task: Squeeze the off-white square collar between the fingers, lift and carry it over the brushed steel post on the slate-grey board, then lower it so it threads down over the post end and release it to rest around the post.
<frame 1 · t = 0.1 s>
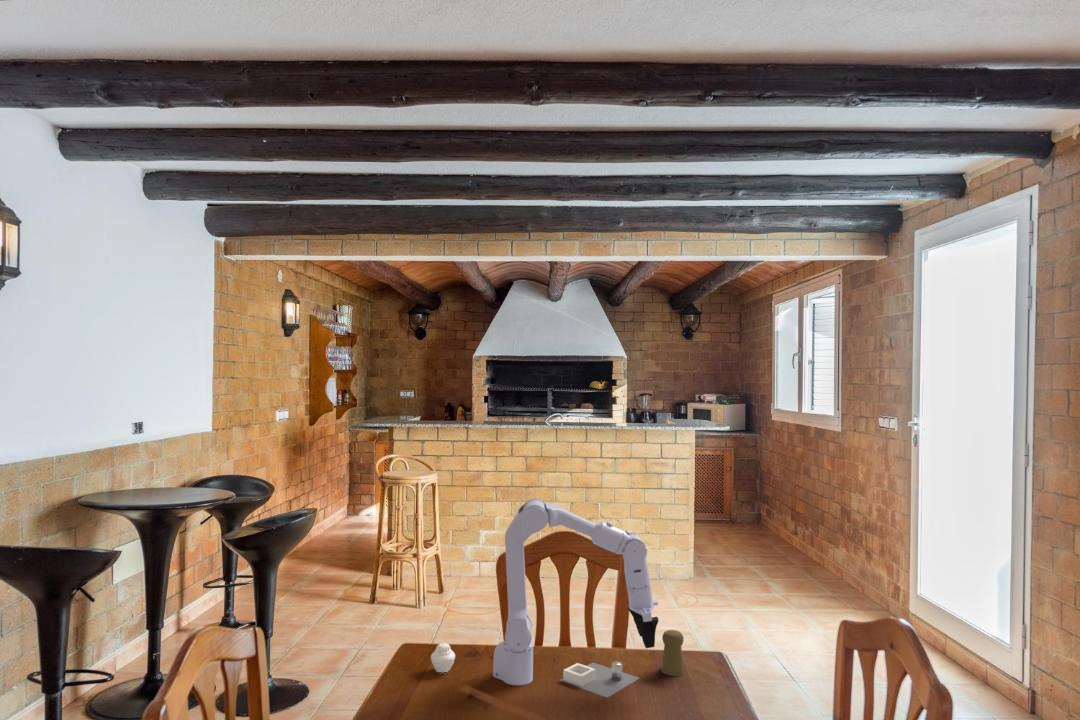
hand: (646, 641, 171), 11 cm above the table, tool pointing down, fingers open, 7 cm apart
post: (616, 683, 171), resting on board
muffin: (442, 671, 177), on the table
cork: (672, 676, 176), on the table
collar: (579, 679, 171), point 1 cm above the table, touching board
board: (599, 684, 171), on the table
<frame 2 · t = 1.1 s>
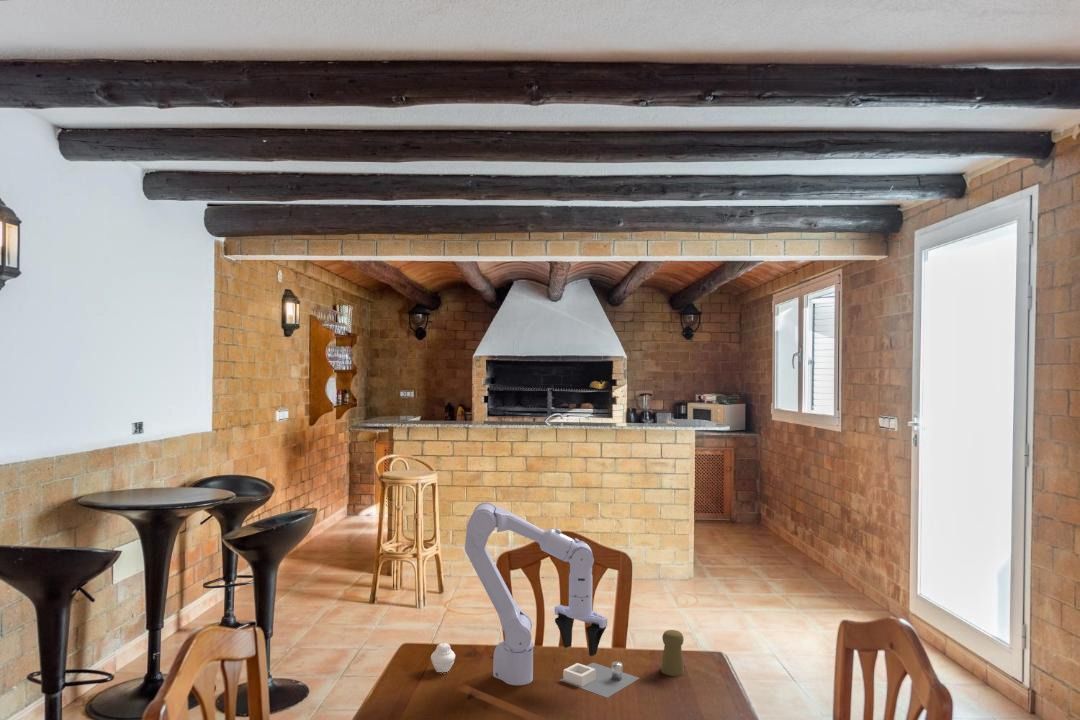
hand: (580, 650, 171), 8 cm above the table, tool pointing down, fingers open, 7 cm apart
nothing on the table moved.
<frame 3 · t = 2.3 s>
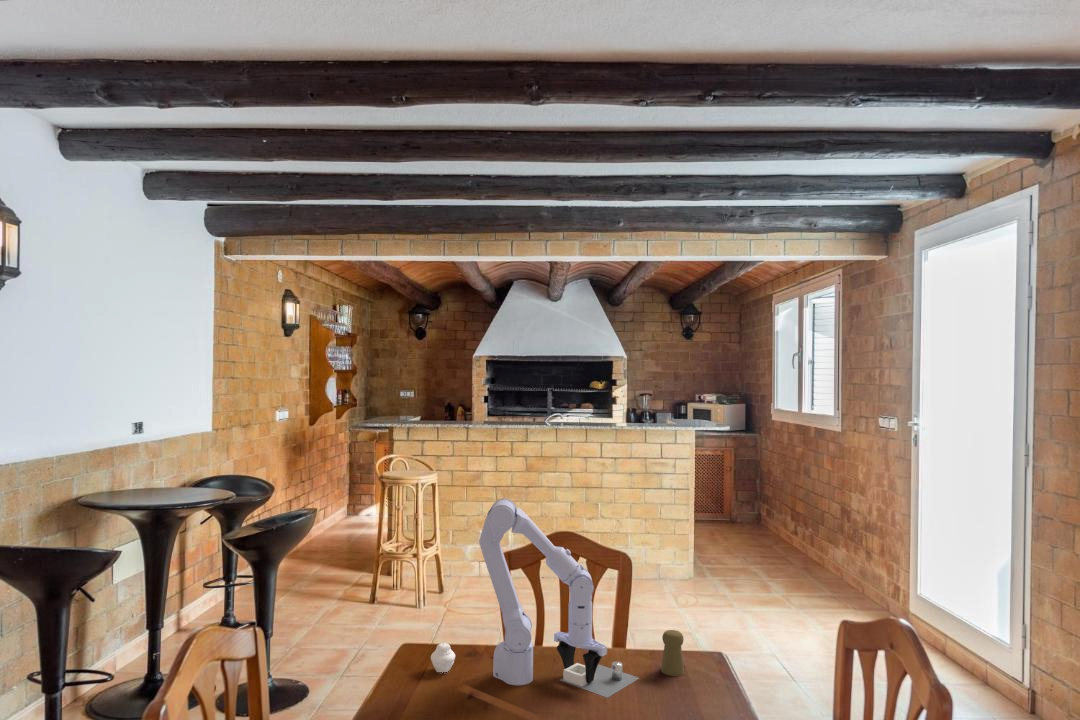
hand: (579, 677, 171), 2 cm above the table, tool pointing down, fingers closed on collar, 6 cm apart
collar: (579, 679, 171), point 1 cm above the table, touching board, gripper
everything else where it was.
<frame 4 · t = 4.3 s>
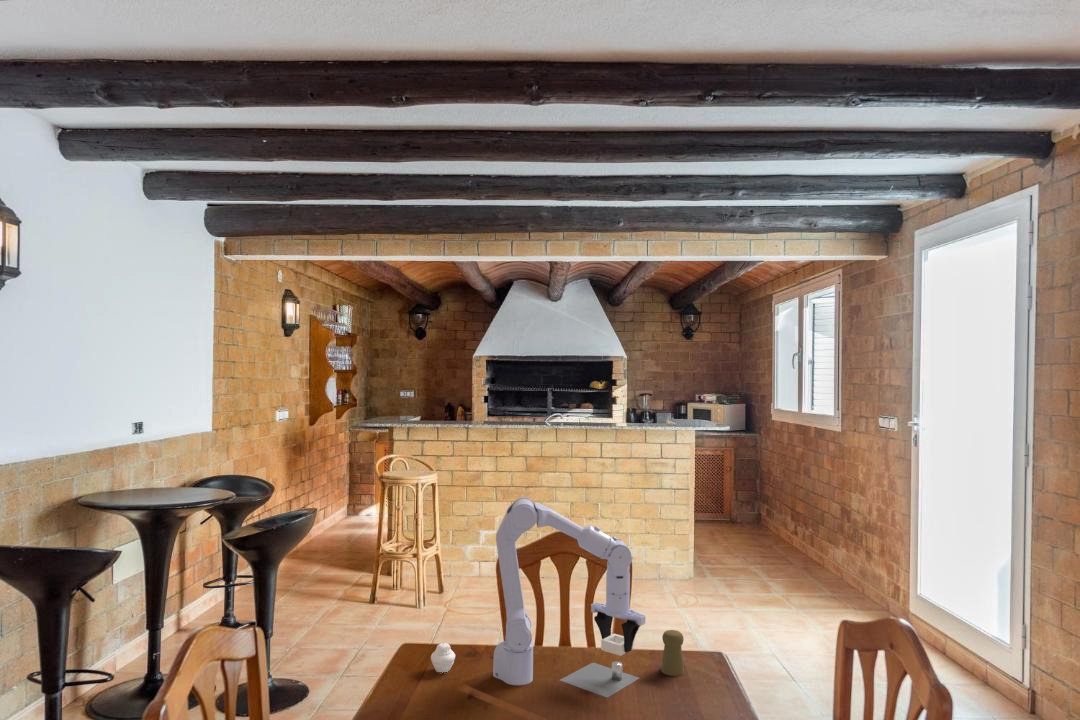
hand: (617, 647, 172), 9 cm above the table, tool pointing down, fingers closed on collar, 6 cm apart
collar: (617, 649, 172), point 8 cm above the table, touching gripper
everything else where it was.
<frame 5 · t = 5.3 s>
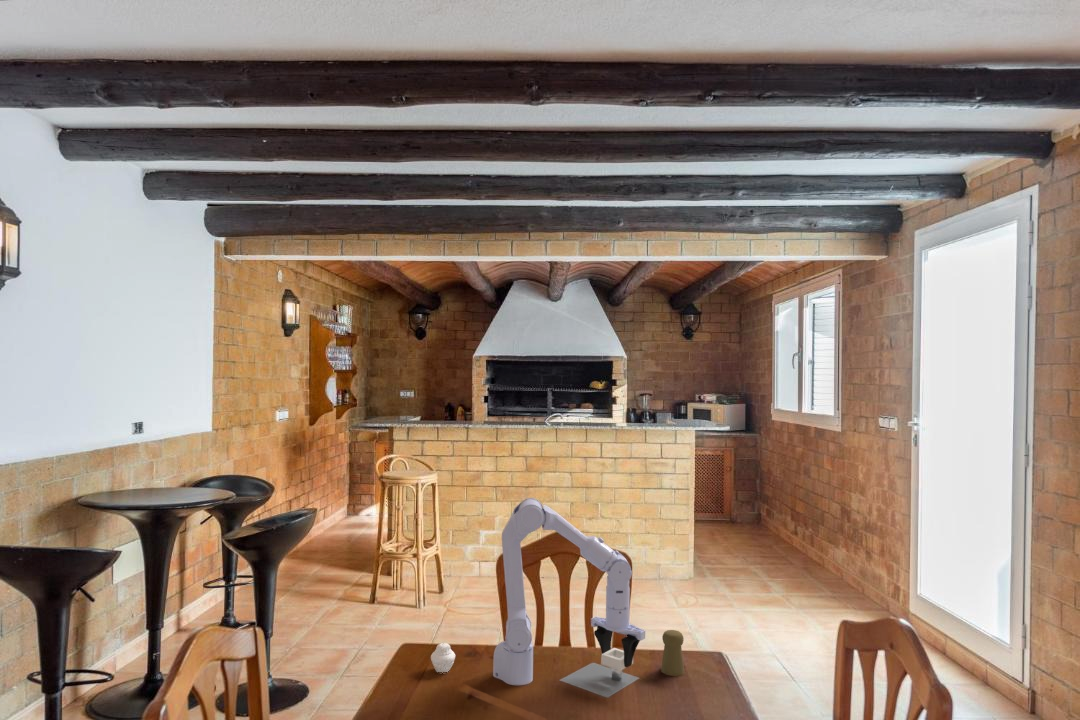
hand: (617, 662, 171), 5 cm above the table, tool pointing down, fingers closed on collar, 6 cm apart
collar: (617, 663, 171), point 5 cm above the table, touching gripper
everything else where it was.
when the fingers open (3 cm above the table, at t = 6.3 s): collar drops 2 cm, resting on board.
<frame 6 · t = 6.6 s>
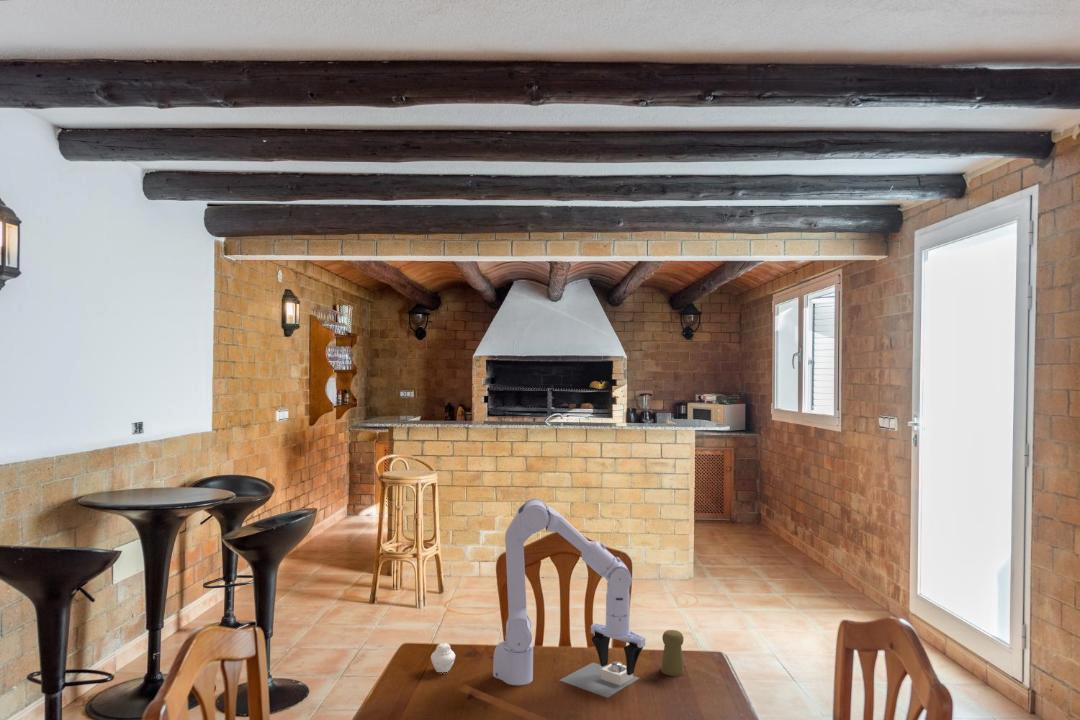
hand: (617, 669, 171), 3 cm above the table, tool pointing down, fingers open, 7 cm apart
collar: (616, 678, 171), point 1 cm above the table, touching board
everything else where it was.
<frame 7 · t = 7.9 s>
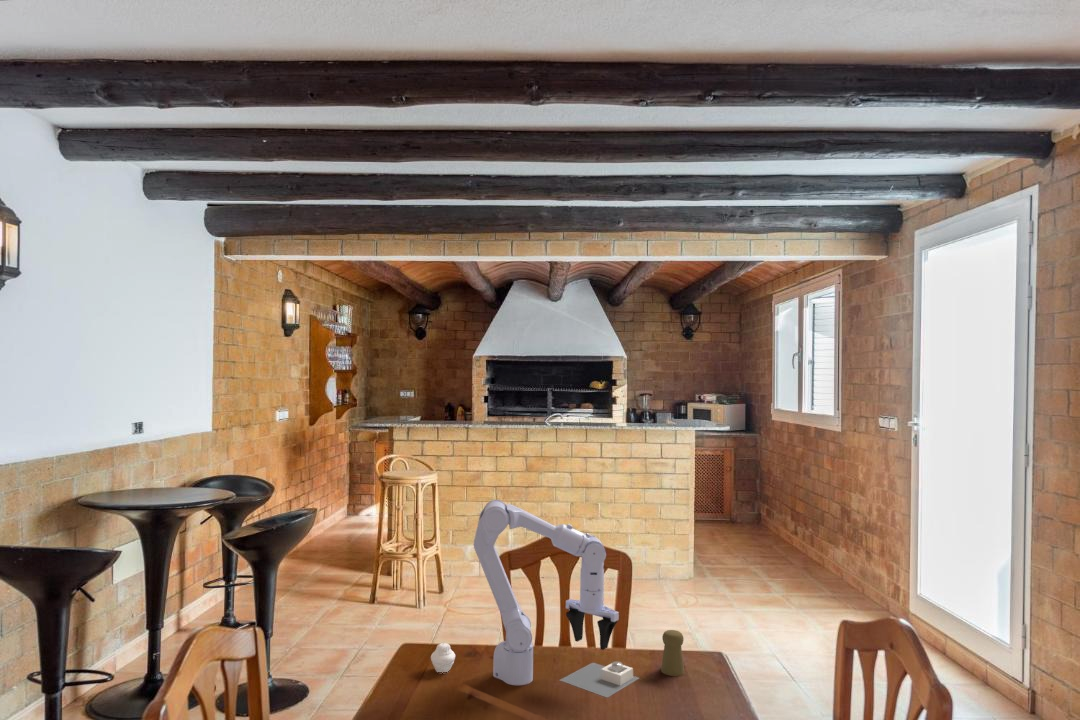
hand: (591, 644, 172), 9 cm above the table, tool pointing down, fingers open, 7 cm apart
nothing on the table moved.
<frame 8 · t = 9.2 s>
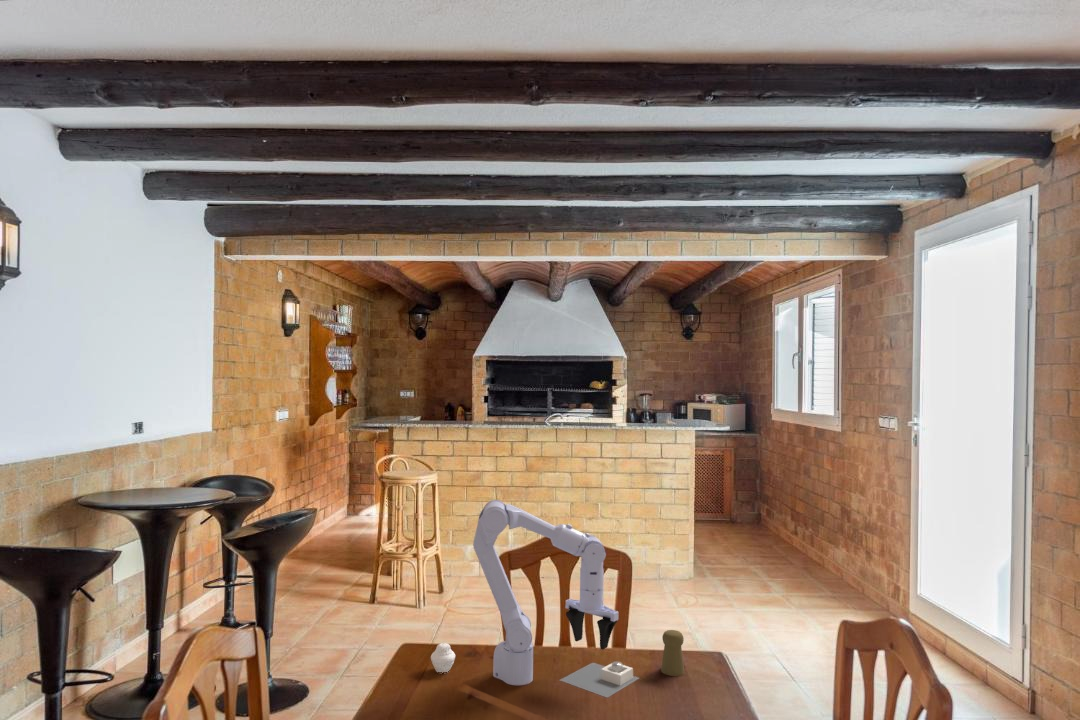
hand: (591, 644, 172), 9 cm above the table, tool pointing down, fingers open, 7 cm apart
nothing on the table moved.
at the end: collar 0.0 cm from the post (horizontally); collar point 1.2 cm above the table; the gripper is holding nothing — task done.
